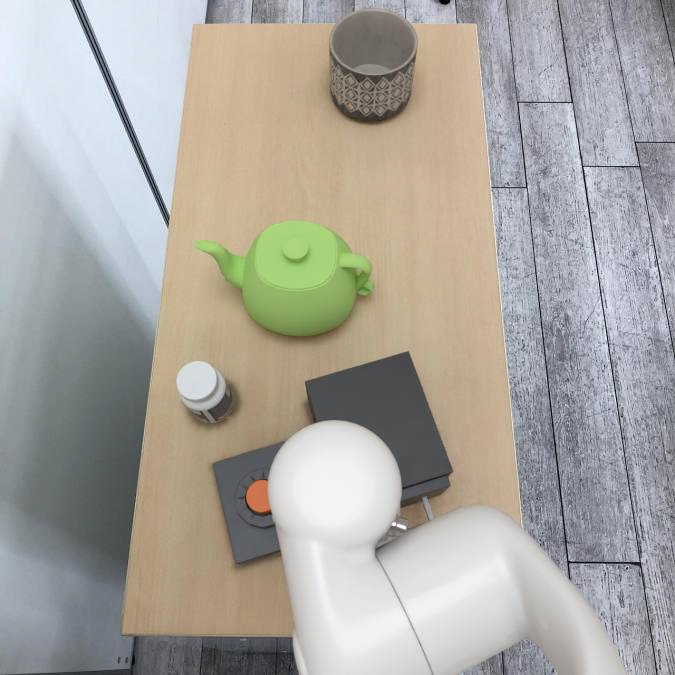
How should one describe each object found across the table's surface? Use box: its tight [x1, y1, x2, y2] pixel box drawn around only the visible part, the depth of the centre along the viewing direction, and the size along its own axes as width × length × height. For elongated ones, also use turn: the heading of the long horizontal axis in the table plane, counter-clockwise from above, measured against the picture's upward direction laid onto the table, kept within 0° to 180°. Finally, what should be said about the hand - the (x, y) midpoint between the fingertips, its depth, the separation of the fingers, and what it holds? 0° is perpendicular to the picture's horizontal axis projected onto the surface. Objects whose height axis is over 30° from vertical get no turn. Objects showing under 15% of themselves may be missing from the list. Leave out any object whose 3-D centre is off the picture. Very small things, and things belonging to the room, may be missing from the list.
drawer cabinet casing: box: [304, 350, 454, 489], centre depth 74 cm, size 15×13×10 cm
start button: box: [246, 480, 271, 514], centre depth 72 cm, size 4×4×2 cm
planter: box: [328, 7, 419, 122], centre depth 94 cm, size 13×13×10 cm
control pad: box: [212, 440, 287, 565], centre depth 74 cm, size 12×10×4 cm
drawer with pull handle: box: [394, 475, 452, 539], centre depth 73 cm, size 18×11×8 cm, turn 17°
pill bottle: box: [175, 360, 236, 424], centre depth 76 cm, size 6×6×10 cm
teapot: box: [193, 220, 375, 337], centre depth 80 cm, size 22×15×13 cm
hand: (335, 526), depth 62 cm, fingers closed
